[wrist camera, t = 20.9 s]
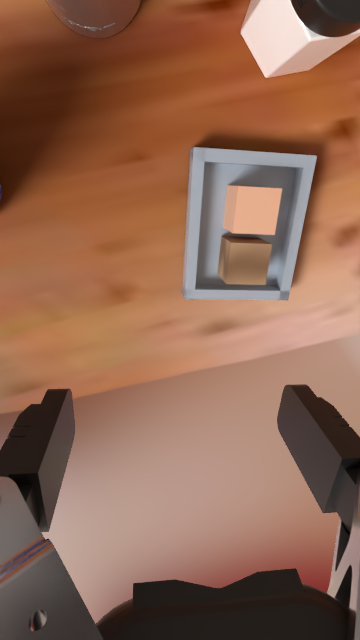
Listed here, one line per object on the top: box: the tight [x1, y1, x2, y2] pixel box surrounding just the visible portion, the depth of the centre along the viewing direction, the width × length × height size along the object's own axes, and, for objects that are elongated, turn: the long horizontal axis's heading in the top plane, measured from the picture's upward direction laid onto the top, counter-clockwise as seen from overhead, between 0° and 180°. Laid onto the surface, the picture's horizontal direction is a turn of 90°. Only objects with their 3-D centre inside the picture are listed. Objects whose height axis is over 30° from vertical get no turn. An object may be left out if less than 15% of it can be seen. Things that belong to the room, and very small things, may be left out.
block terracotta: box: [223, 185, 282, 235], centre depth 34 cm, size 4×4×4 cm
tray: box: [182, 147, 317, 300], centre depth 36 cm, size 16×13×2 cm
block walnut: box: [218, 236, 272, 285], centre depth 36 cm, size 4×4×4 cm
